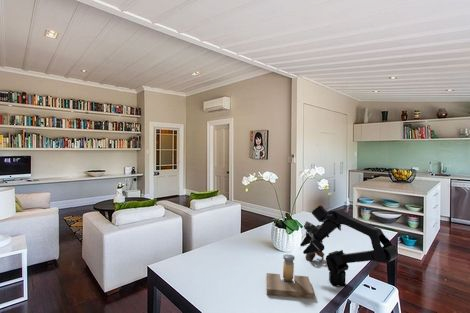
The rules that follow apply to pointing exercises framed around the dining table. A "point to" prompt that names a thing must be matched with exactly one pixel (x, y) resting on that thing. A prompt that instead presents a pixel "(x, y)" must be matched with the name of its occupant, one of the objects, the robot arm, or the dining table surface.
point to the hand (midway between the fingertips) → (302, 249)
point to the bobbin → (288, 268)
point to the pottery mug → (312, 255)
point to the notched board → (289, 286)
